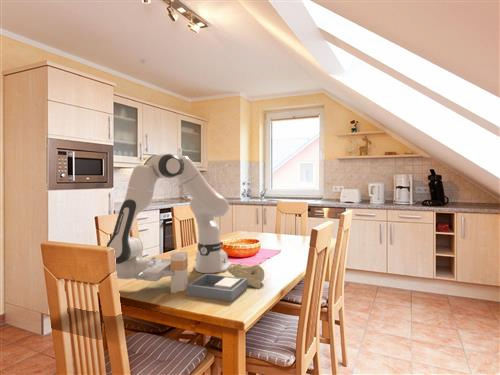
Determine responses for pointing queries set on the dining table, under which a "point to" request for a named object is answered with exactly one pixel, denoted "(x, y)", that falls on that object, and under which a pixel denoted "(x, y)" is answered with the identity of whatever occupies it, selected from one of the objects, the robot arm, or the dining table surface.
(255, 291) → the dining table surface
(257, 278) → the beige rock
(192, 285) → the tote
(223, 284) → the white rectangular block
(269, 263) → the dining table surface
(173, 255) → the juice carton
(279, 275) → the dining table surface
